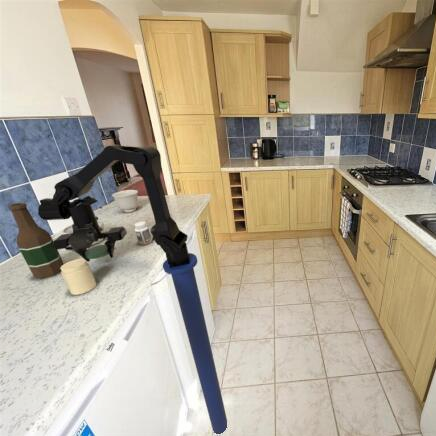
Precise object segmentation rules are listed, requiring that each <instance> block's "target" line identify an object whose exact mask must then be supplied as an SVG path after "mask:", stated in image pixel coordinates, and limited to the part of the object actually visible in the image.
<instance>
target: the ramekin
mask: <svg viewBox="0 0 436 436" xmlns="http://www.w3.org/2000/svg"><path fill="white" fill-rule="evenodd" d="M97 222H98V225H99V227H100V228H102V231H101V233H104V232H106V231H105V223H104V221H102V220H100V219H98V220H97ZM73 224H74V223H73ZM73 224H69V225H67V226H66V227H64V228H63V229H62V230H61V235H63V234H71V233H73V228H72V225H73ZM104 239H105V238H103V239H98V241H96V242H93V243H92V246H94V245H97V244H99V243H101V242H102V241H103V240H104Z"/></svg>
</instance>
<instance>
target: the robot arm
mask: <svg viewBox="0 0 436 436" xmlns="http://www.w3.org/2000/svg"><path fill="white" fill-rule="evenodd" d="M161 157H162V156H161V153H160V151H159V150H158V148H155V147H154V146H151V145H145V146H142V147H141V146H129V145H121V144H111V145H106V146H105V147H104V149H103V150H102V151H101V152H100V153H98V154H97V155H96V156H95V157H94V158H93V159H91V160H90V161H89V162H88V163H87V164H86V165H85V166H84V167H82V168H81V169H80V170H79V171H78V172H76V173H75V174H72V175H70V176H67V177H66V178H64V179H62V180H60V181H59V182H57V183H55V184H54V187H53V189H54V194H53V196H52V198H51V197H48V198H47V197H46V198H43V199H39V203H40V204H39V206H38V209H37V211H38V212H37V215H38V216H39V218H40V219H42V220H43V221H59V220H60V221H61V220H69V219H70V218H71V220H72V223H73V225H72V224H71V225H72V228H73V233H71V234H61V235H59V236H58V237H57V238H56V239H53V241H54V242H53V246H54V248H55V249H56V250H64V249H65V250H66V251H73V252H75V253H76V254H78V255H79V256H80V257H81V258H82V259H85V260H86V261H87V263H89V262H90V261H91V259H88V258H86V255H85V251H86V250H88V249H89V248H92V247H93V245H92V243H93V242H96V241H98V239H103V238H104V239H105V240H106V241H105V242H103V245H106V246H107V249H108V253H109V254H108V255H109V257H110V259H113V258H114V254H115V245H116V242H118V241H122V240H123V239H124V238H125V237H126V236H127V233H128V231H127V228H126V227H124V226H117V227H111V228H110V229H109V230H108V231H105V232H104V233H101V231H102V228H100V227H99V225H98V222H97V220H99V217H98V216H96V214H95V211H94V209H93V206H92V205H94V204H96V203H97V202H98V199H96V198H94V197H91V196H90V195H87V194H88V193H89V192H90V191H91V189H92V188H93V187H94V183H95V182H96V180H97V179H99V177H101V176H102V175H103V174H104V173H105V172H106V171H108V170H109V169H110V168H112V166H113V165H115V164H116V163H117V162H120V163H123V164H127V165H132V166H133V168H134V170H135V172H136V173H137V174H138V175H139V177H141V179H142V180H143V183H144V188H145V190H146V194H147V198H148V200H149V204H150V207H151V211H152V214H153V218H154V223H155V224H154V225H153V226H151V227H150V229H149V232H150V234H151V235H152V241H154V243H155V244H156V245H157V246H159V247H160V248H161V249H162V251H163V252H164V254H165V257H166V260H167V261H168V264H170V268H173V267H178V266H182V265H187V264H190V255H189V254H188V253H189V250H188V245H187V241H188V237H189V236H188V234H186V233H184V232H183V231H182V230H180V228H179V226H178V224H177V222H176V221H175V220H174V219H173V218H172V216H171V213H170V208H169V205H168V201H167V198H166V193H165V189H164V186H163V183H162V182H163V181H162V178H161V170H162V158H161ZM84 195H87V196H85V197H83V198H80V197H82V196H84ZM104 239H103V240H104Z"/></svg>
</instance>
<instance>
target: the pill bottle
mask: <svg viewBox="0 0 436 436" xmlns="http://www.w3.org/2000/svg"><path fill="white" fill-rule="evenodd" d="M133 226H134V233H135V235H136V239H137V242H138V244H139V245H142V246H143V245H147V244H150V243H151V242H152V241H153V237H152V236H151V235H152V234H151V231H150V229H149V226H147V223H146V221H138V222H135V223H134V224H133Z"/></svg>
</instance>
